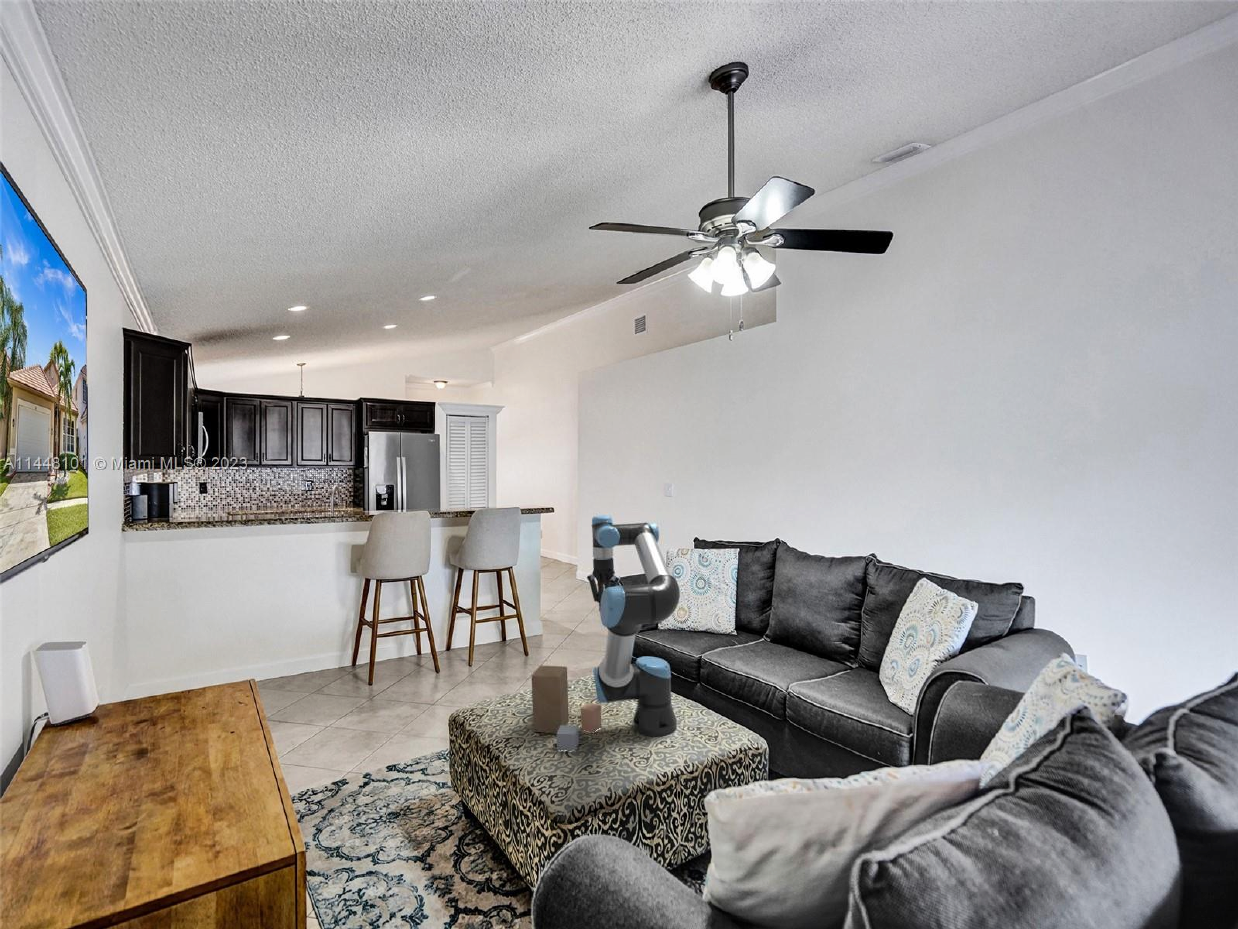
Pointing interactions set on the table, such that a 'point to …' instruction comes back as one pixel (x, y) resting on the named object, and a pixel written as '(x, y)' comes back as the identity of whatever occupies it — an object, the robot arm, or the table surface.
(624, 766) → the table surface
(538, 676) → the wooden block
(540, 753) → the table surface
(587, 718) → the terracotta block
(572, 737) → the slate cube
